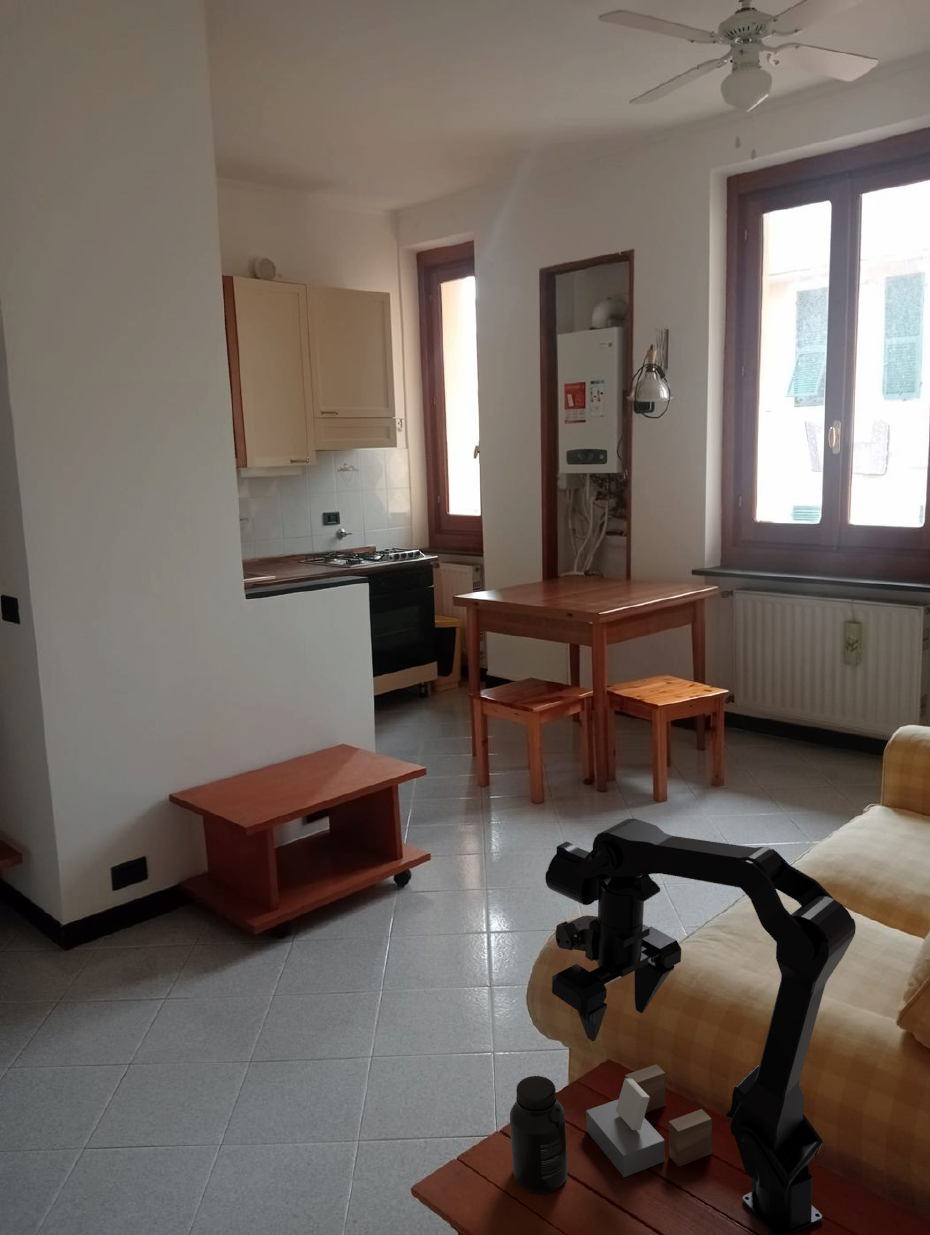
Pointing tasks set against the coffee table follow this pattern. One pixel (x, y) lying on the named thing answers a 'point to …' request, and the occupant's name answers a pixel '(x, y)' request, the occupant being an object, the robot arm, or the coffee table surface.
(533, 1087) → the supplement bottle
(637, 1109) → the plate
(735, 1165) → the coffee table surface
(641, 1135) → the base
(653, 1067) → the far post
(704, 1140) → the beige block
